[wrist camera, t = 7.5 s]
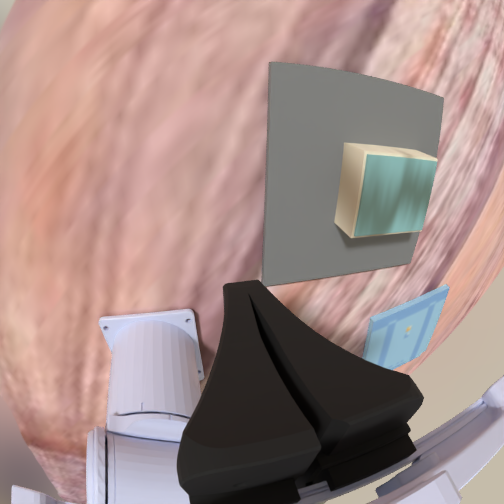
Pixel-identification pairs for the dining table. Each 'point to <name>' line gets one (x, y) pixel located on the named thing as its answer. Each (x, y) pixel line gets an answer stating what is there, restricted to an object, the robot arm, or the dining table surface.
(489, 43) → the dining table surface
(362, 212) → the beige and teal block
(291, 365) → the robot arm
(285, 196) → the mat
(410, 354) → the folded blue cloth
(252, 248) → the dining table surface
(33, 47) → the dining table surface
